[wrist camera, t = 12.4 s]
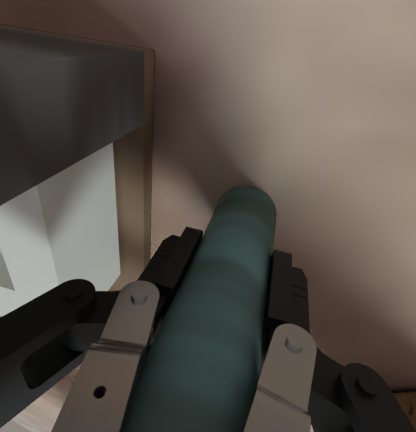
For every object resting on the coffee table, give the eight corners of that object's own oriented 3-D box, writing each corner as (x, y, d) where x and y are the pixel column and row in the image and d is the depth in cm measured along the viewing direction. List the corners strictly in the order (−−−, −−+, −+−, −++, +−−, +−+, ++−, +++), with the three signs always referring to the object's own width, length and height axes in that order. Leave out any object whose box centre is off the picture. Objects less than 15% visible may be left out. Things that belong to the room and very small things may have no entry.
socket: (120, 274, 19) (71, 340, 15) (-10, 236, 20) (-88, 286, 16) (111, 119, 13) (29, 155, 9) (-66, 82, 15) (-205, 99, 11)
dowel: (268, 243, 16) (226, 560, 6) (213, 229, 17) (95, 505, 7) (283, 194, 15) (257, 525, 5) (222, 180, 15) (79, 454, 5)
